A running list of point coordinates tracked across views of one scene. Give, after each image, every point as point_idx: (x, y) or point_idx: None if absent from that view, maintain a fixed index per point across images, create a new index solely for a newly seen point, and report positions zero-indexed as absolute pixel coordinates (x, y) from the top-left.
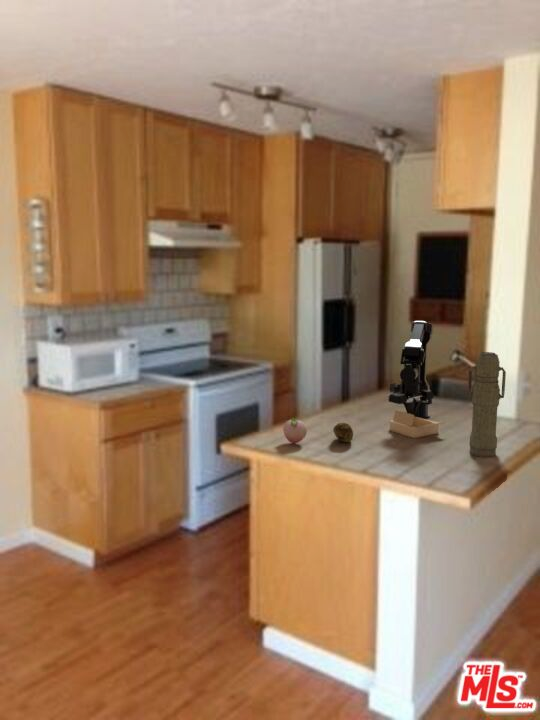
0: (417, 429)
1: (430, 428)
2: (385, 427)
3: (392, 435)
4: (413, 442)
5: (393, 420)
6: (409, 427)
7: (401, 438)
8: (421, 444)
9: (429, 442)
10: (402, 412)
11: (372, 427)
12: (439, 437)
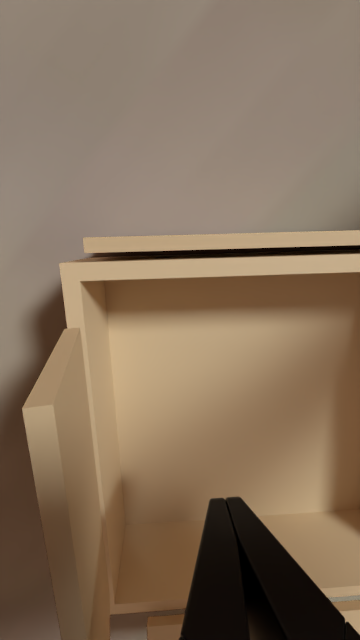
0: (143, 593)
1: (308, 563)
2: (138, 129)
3: (13, 391)
4: (41, 585)
5: (64, 332)
6: None
7: (26, 485)
8: (59, 631)
9: (138, 623)
10: (61, 607)
11: (3, 34)
12: None
